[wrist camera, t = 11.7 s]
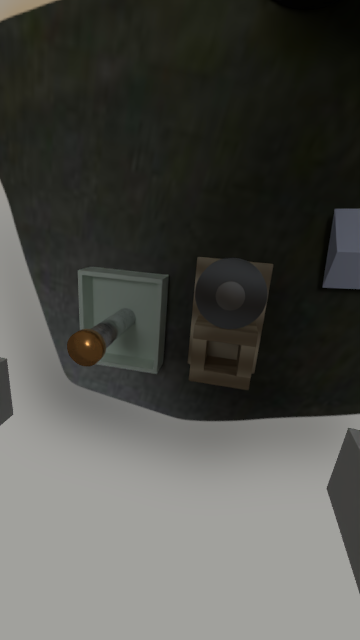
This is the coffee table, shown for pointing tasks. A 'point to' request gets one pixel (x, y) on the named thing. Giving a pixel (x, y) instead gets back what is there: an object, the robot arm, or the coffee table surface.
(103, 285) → the tray
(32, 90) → the coffee table surface
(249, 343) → the block
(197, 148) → the coffee table surface
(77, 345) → the lock pin
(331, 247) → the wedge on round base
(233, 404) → the coffee table surface
